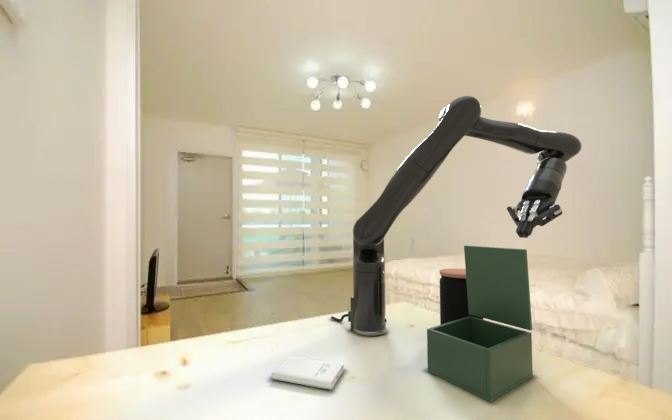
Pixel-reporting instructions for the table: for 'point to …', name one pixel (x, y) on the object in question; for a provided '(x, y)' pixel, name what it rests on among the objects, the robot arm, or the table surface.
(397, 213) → the robot arm
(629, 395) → the table surface
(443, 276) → the coffee jar
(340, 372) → the hard drive
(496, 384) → the green box
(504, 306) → the green lid
